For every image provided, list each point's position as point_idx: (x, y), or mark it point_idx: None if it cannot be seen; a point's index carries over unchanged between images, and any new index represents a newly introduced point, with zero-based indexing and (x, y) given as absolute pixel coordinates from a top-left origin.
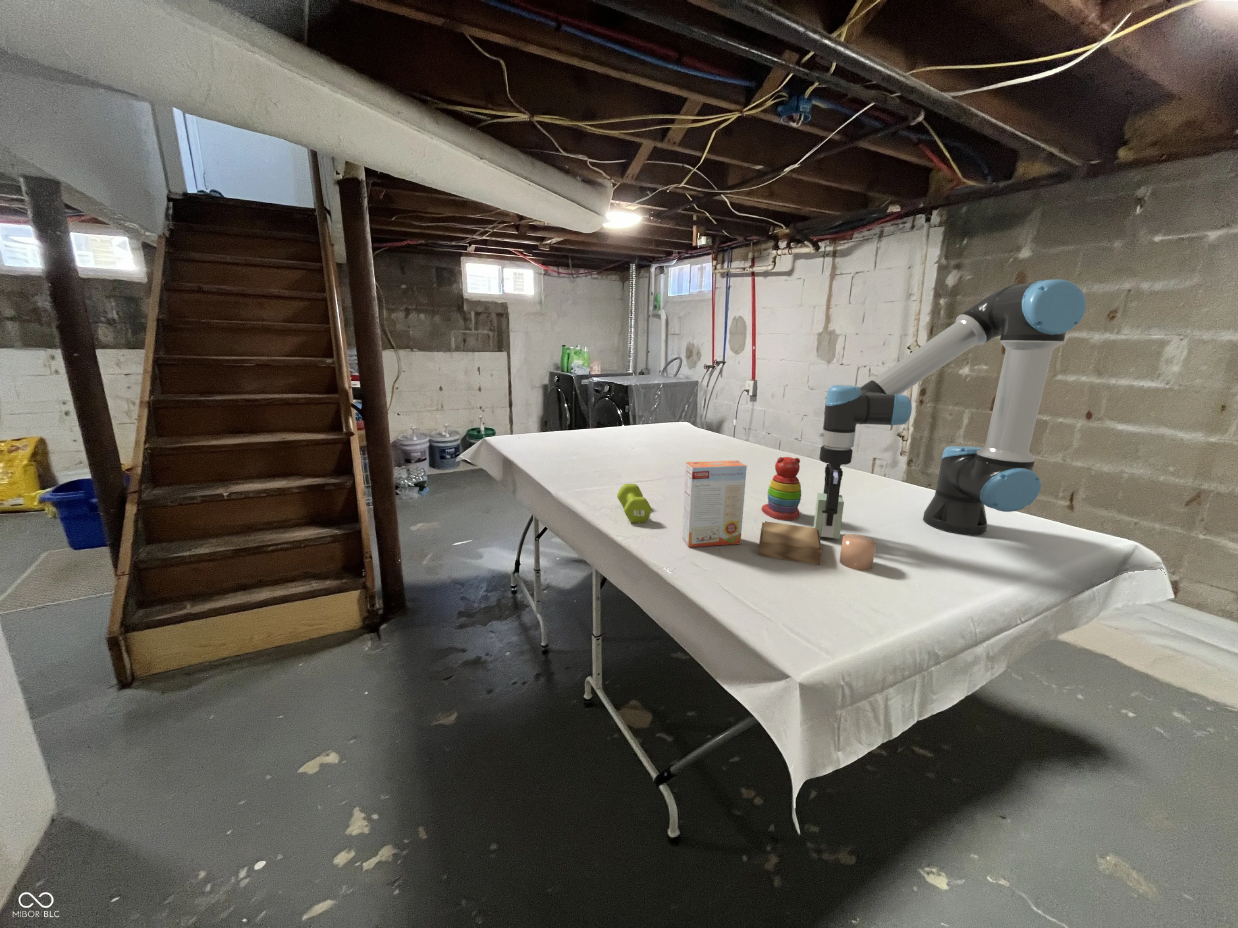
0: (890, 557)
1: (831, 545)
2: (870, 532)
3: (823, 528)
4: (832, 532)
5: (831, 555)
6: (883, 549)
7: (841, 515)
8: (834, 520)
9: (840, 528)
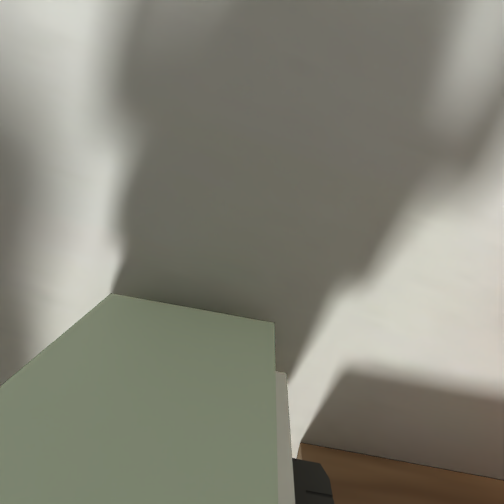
0: (498, 22)
1: (338, 372)
2: (15, 12)
3: None
4: (285, 400)
5: (496, 412)
6: (352, 24)
7: (276, 460)
8: (291, 477)
9: (274, 363)
